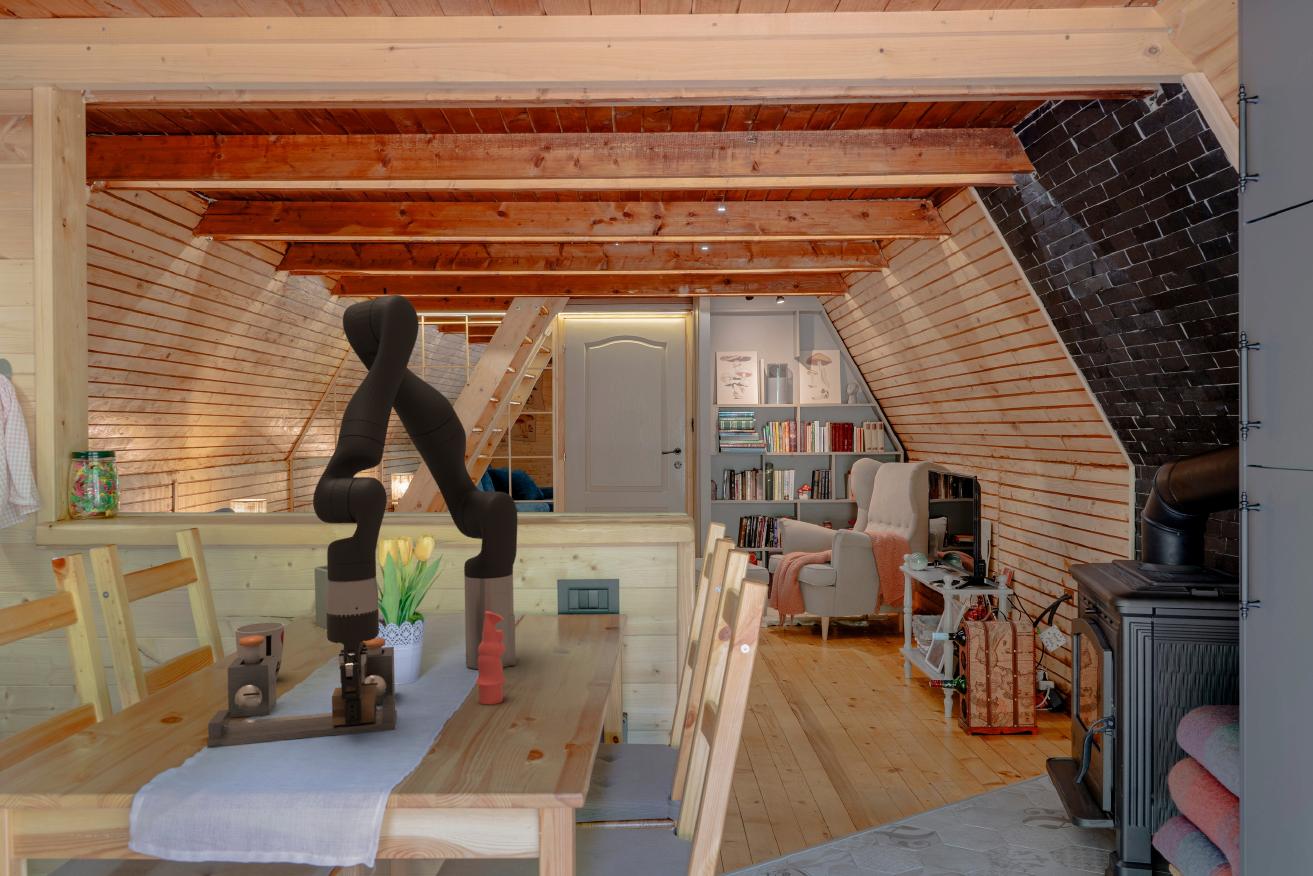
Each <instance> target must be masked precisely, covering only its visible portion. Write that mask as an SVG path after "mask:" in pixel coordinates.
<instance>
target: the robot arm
mask: <svg viewBox="0 0 1313 876" xmlns="http://www.w3.org/2000/svg"><path fill="white" fill-rule="evenodd" d="M419 325H420V323H419V317H418V313H417V310H416V308H415V307H414V305H413V304H412V302H411V301H410V300H409V299H408V298H407V297H405V296H403V295H400V294H389V295H384V296H379V297H376V298H371V299H368V300H364V301H360V302H356V303H354V304H353V303H352V304H351V305H349V306H347V307H346V308H345V310H344V312H343V316H342V327H343V331H344V334H345V337H346V339H347V342H348V344H349V345H350V347H351V348H352V350H353V351H354V353H355V354H356V356H357V357H358V359H359V360H360V361H361V363H362V364H363V366H365V368H366V370H367V371H368V372H367V374H366V376H365V378H364V379H363V380H362V382H361V384H359V386H358V387H357V389H356V391H355V392H354V393H353V394H352V396H351V398H350V400H349V402H348V403H347V405H346V408H345V410H344V412H343V414H342V418H341V424H340V428H339V432H338V438H337V443H336V447H335V450H334V452H333V454H332V456H331V457H330V459H329V461H328V463H327V465H326V467H325V469H324V471H323V473H322V474H321V476H320V478H319V480H318V482H317V484H316V486H315V490H314V493H313V499H312V504H313V505H312V506H313V510H314V513H315V515H316V516H317V518H318V519H319V520H320V521H322V522H323V523H327V524H356V529H355V530H354V533H353V534H352V536H351V537H350V536H349V537H344V538H340V539H336V540H333V541H331V542H330V543H329V544H328V546H327V551H326V552H327V554H326V560H327V562H326V563H327V564H326V565H327V572H328V584H327V593H326V607H327V629H326V638H327V640H328V641H329V642H331V643H335V644H342V645H343V649H340V653H339V654H338V664H339V670H340V674H339V675H340V676H339V681H340V684H341V685H340V687H342V694H341V698H342V700H344V701H345V723H346V725H357V724H360V722H361V697H362V693H361V686H364V685H365V679H366V675H367V659H368V648H366V643H365V642H363V641H369V640H372V639H374V638H378V636H379V634H380V625H379V624H380V623H379V622H380V618H379V610H380V609H379V587H378V583H377V560H376V559H377V558H376V557H377V556H376V555H377V546H378V545H377V544H378V539H379V535H380V530H381V526H382V523H383V519H384V515H385V513H386V508H387V502H388V496H387V491H386V489H385V486H384V484H383V483H382V482H381V481H380V480H379V479H377V478H376V477H370V476H369V477H368V476H363V477H362V476H360V477H358V476H357V477H355V476H356V475H357V474H358V473H360V472H362V471H365V470H370V469H374V468H375V467H378V466H379V465H380V464H381V462H382V459H383V456H384V449H385V445H386V440H387V434H388V428H389V422H390V419H391V414H392V409H393V411H394V412H395V413H396V416H398V418H399V420H400V421H401V423H402V426H403V428H404V429H405V431H406V433H407V435H408V437H409V439H410V440H411V442H412V444H413V445H414V447H415V449H416V450H417V453H418V454H419V455H420V456H421V458H422V460H423V461H424V463H425V465H426V467H427V469H428V471H429V472H430V474H431V476H432V478H433V480H434V481H435V483H436V485H437V487H438V490H439V491H440V493H441V495H442V496H441V497H443V500H444V503H445V504H446V507H447V509H448V511H449V514H450V516H451V519H452V520H453V523H454V525H455V527H456V528H457V530H458V531H459V532H460V533H461V534H462V535H464V537H465V536H466V537H467V538H471V539H478V540H481V549H480V552H479V553H478V554H477V555H475V556H474V557H473V556H472V557H471V558H468V559H467V560H465V563H464V566H463V567H464V568H463V573H464V579H463V580H464V621H465V622H464V623H465V625H464V627H465V632H464V633H465V665H466V667H468V668H471V669H475V670H479V669H478V658H479V656H480V654H479V653H478V647H479V645H480V644H481V642H482V631H483V628H484V620H485V616H486V615H485V612H486V611H491V612H492V613H495V614H498V615H500V616H501V617H502V618H503V619H504V620H501V621H500V622H499V623H497V624H496V625H495V628H496V630H502V632H503V638H504V639H503V641H501V642H502V643H503V644H504V646H505V651H504V653H503V654H502V656H500V659H501V661H502V666H503V668H506V667H510V666H511V667H512V666H516V665H517V663H516V662H517V661H516V659H517V658H516V656H517V654H516V616H515V611H514V607H515V606H514V564H515V561H516V557H517V552H518V551H517V549H518V547H517V545H518V544H517V543H518V542H517V541H518V509H517V505H516V503H515V500H514V498H513V497H512V496H511V495H510V494H509V493H506V492H503V491H489V490H488V491H486V490H480V489H479V488H478V487H477V485H476V484H475V483H474V481H473V479H472V478H471V475H470V474H469V472H468V469H467V466H466V450H467V434H466V431H465V427H464V425H463V423H462V422H461V420H460V418H459V416H458V414H457V412H456V410H455V409H454V407H453V405H452V404H451V402H450V400H449V399H448V398H447V397H446V396H445V395H443V393H442V392H440V391H439V390H437V388H435V387H434V386H433V385H431V384H429V383H428V382H427V381H425V380H424V379H422V378H421V377H420V376H418V375H416V374H415V373H414V372H412V370H410V369H409V368H408V364H409V361H410V359H411V356H412V355H413V354H412V353H413V350H414V347H415V345H416V342H417V339H418V333H419V327H420V326H419ZM352 686H355V687H356V691H348V687H352Z"/></svg>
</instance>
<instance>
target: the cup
mask: <svg viewBox="0 0 1313 876" xmlns="http://www.w3.org/2000/svg"><path fill="white" fill-rule="evenodd" d="M234 635H235V646H236V654H237V658H244V646H241V645H239V639H240V638H243V637H247V636H263V637H264V642H263V643H262V644H260V656H274V655H275V666H276V681H277V678H278V676H279V672H280V669H281V665H282V658H283V652H284V640H285V639H284V638H285V637H284V635H285V624H284V623H282V622H276V621H273V622H272V621H268V622H265V621H264V622H257V623H250V624H245V625H241V626H239V627H236V628H234Z"/></svg>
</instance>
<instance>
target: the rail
mask: <svg viewBox="0 0 1313 876" xmlns="http://www.w3.org/2000/svg"><path fill="white" fill-rule="evenodd" d="M397 719H398V710H397V709H396V695H395V694H394V696H385V697H384V702H383V705H382V708H381V707H380V708H377V709H375V722H366V723H360V724H357V725H346V724H344V725H333V724H332V712H326V713H325V712H324V713H316V714H313V713H312V714H304V715H302V714H301V715H293V716H292V715H291V716H282V717H281V716H280V717H270V718H259V719H258V718H257V719H247V720H238V721H237V720H236V721H235V720H234V721H231V718H230V710H229V709H221V710H217V712H216V713H215V714H214V715H213V717H212V719H210V720H209V722H208V723H207V726H208V727H207V728H208V730H207V731H208V733H207V734H208V738H207V740H206V746H207V747H206V748H212V747H224V746H233V745H243V744H245V745H246V744H253V743H256V744H257V743H264V742H266V743H267V742H277V741H284V740H285V741H286V740H296V739H297V740H298V739H307V738H317V737H328V736H329V737H331V736H337V735H339V736H340V735H349V734H362V733H370V732H371V733H372V732H381V731H382V732H383V731H391V730H396V726H397Z"/></svg>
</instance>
